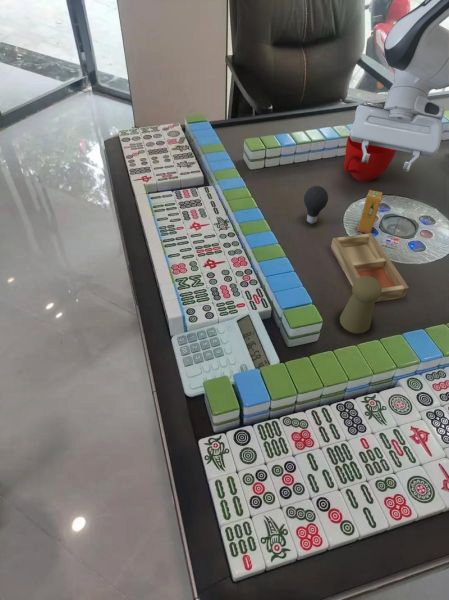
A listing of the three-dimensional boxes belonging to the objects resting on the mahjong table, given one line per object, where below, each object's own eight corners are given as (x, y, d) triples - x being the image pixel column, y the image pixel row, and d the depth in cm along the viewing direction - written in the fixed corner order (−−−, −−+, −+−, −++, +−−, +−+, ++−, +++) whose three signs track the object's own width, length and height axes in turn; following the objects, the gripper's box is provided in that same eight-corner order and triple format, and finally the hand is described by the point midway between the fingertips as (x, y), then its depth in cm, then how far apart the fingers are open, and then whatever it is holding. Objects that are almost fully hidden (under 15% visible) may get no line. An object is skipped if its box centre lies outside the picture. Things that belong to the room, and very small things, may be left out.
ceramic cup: (321, 178, 120) (328, 145, 113) (358, 158, 128) (366, 125, 120) (359, 199, 114) (369, 164, 106) (395, 176, 121) (407, 142, 114)
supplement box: (372, 227, 106) (384, 192, 98) (369, 235, 104) (381, 200, 96) (359, 223, 107) (369, 188, 99) (356, 231, 105) (366, 196, 97)
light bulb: (326, 220, 107) (334, 186, 100) (316, 232, 104) (323, 197, 97) (306, 213, 110) (312, 178, 102) (295, 224, 106) (301, 189, 99)
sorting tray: (368, 242, 102) (371, 232, 100) (404, 297, 90) (409, 287, 88) (330, 247, 101) (332, 237, 98) (362, 304, 89) (365, 294, 86)
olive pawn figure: (336, 310, 87) (348, 271, 79) (365, 309, 88) (380, 270, 80) (344, 334, 83) (357, 295, 75) (374, 332, 84) (391, 294, 76)
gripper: (359, 94, 100) (340, 152, 101) (452, 110, 95) (431, 172, 96) (358, 105, 106) (341, 161, 107) (446, 121, 101) (426, 179, 102)
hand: (384, 166), depth 101 cm, fingers open, 8 cm apart
